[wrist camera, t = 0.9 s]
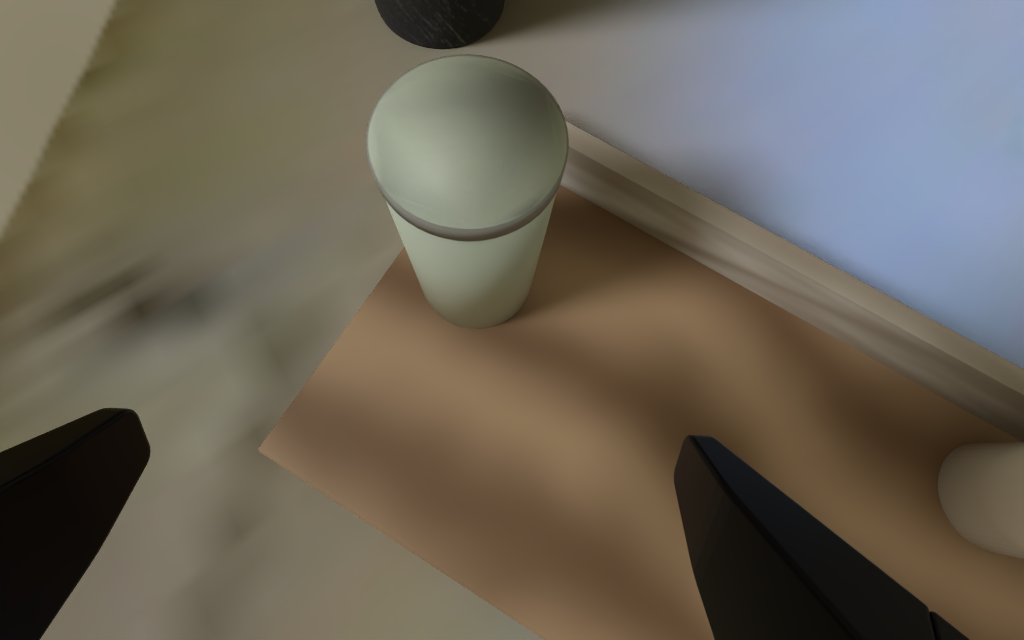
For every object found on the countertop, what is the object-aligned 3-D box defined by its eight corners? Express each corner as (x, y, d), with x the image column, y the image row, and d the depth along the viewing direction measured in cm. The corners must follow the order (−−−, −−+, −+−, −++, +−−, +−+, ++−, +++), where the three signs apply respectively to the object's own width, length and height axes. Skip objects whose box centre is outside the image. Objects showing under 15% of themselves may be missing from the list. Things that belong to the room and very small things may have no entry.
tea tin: (527, 336, 21) (559, 243, 12) (410, 322, 21) (347, 216, 12) (538, 230, 23) (576, 68, 13) (429, 216, 23) (386, 42, 13)
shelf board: (939, 893, 18) (1058, 1010, 14) (266, 450, 20) (217, 450, 17) (1059, 450, 22) (1173, 450, 18) (491, 136, 25) (492, 81, 21)
